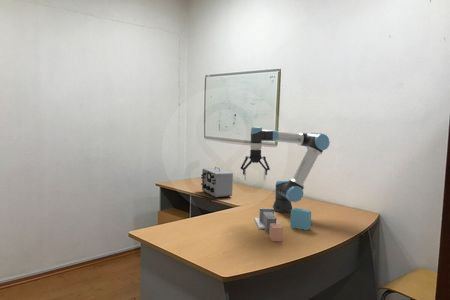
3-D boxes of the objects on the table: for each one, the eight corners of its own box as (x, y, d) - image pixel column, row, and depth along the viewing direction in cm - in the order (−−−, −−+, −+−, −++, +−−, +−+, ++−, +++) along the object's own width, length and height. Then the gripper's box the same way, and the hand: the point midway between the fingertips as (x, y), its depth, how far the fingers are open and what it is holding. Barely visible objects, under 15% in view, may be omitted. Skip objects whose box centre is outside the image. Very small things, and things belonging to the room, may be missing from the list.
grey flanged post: (274, 220, 228) (275, 206, 227) (282, 231, 204) (283, 216, 203) (254, 219, 227) (255, 206, 226) (259, 231, 203) (260, 215, 202)
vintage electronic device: (200, 191, 313) (200, 165, 311) (217, 190, 320) (218, 164, 318) (213, 199, 284) (213, 170, 282) (232, 197, 292) (232, 169, 290)
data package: (310, 229, 210) (311, 210, 209) (308, 231, 206) (309, 212, 205) (292, 225, 217) (293, 207, 215) (290, 227, 213) (290, 209, 212)
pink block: (279, 236, 194) (279, 223, 193) (282, 241, 186) (282, 227, 185) (269, 236, 194) (269, 223, 193) (271, 241, 186) (272, 227, 185)
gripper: (272, 149, 233) (271, 179, 235) (237, 148, 232) (236, 178, 234) (274, 150, 226) (273, 180, 228) (238, 149, 225) (237, 180, 226)
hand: (254, 179), depth 231 cm, fingers open, 13 cm apart
